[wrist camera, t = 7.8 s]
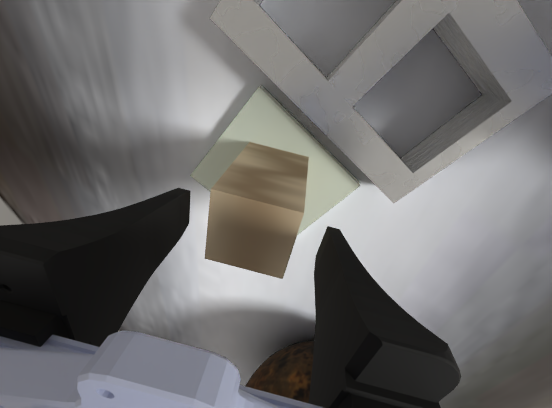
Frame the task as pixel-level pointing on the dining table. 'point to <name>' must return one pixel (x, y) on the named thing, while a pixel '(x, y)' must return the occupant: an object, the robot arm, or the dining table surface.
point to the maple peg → (257, 210)
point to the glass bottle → (286, 372)
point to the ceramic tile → (285, 136)
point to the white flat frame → (384, 56)
